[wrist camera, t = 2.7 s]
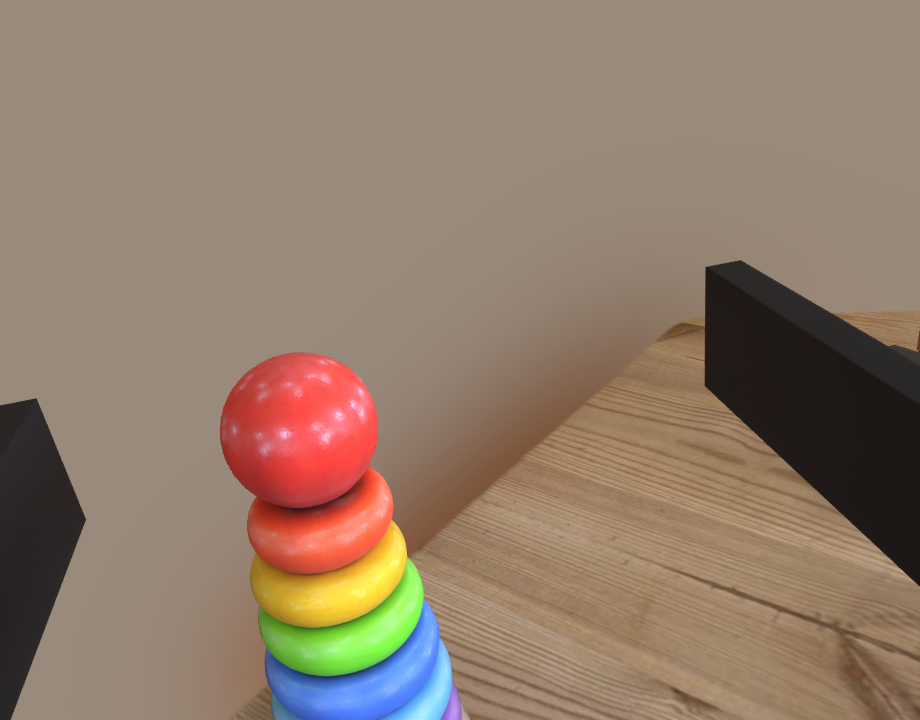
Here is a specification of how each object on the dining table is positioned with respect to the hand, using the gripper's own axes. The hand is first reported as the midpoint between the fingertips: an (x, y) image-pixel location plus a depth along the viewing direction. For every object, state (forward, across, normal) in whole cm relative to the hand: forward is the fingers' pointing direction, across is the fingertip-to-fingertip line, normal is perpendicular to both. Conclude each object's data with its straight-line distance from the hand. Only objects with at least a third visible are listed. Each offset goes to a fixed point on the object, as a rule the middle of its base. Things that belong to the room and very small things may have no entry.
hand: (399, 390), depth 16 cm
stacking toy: (+9, -3, -22) cm, 24 cm away
